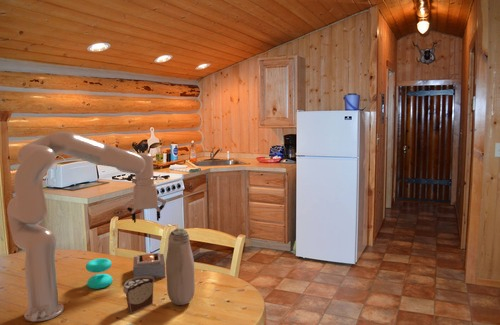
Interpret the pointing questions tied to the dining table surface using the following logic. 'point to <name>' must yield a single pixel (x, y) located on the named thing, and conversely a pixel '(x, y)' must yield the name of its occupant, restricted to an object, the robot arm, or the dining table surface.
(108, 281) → the donuts
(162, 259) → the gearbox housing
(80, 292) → the dining table surface
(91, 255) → the dining table surface
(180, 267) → the beige bottle
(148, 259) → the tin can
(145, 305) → the brown piece
